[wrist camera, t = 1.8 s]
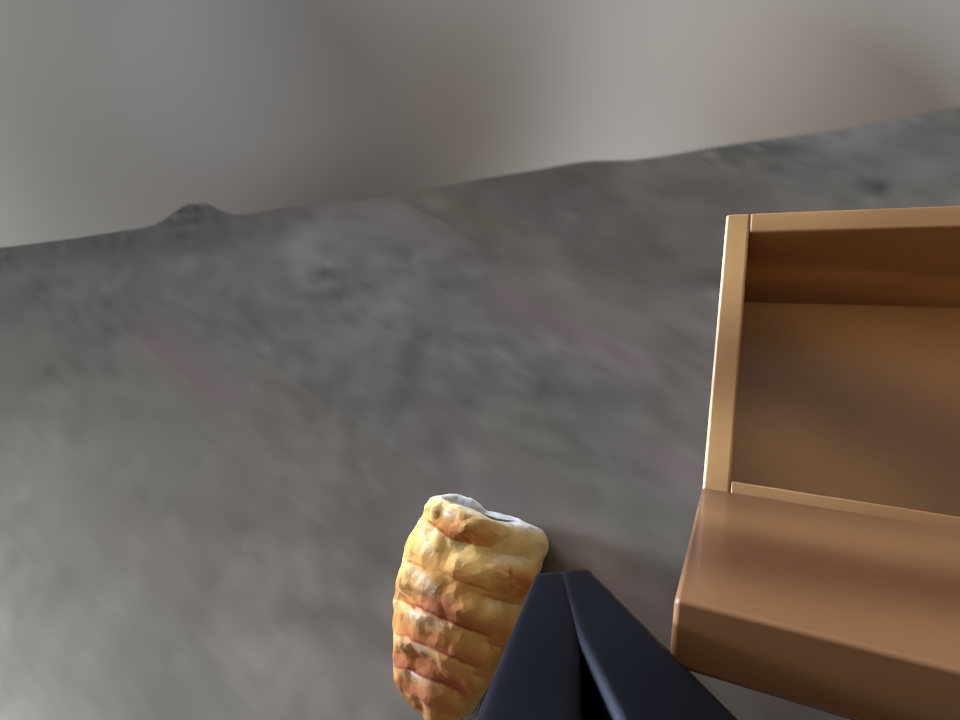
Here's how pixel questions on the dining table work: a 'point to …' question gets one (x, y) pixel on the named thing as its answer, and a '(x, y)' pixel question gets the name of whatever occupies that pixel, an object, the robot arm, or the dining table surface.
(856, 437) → the caddy
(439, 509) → the pastry
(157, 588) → the dining table surface
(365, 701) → the dining table surface
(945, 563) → the lid
